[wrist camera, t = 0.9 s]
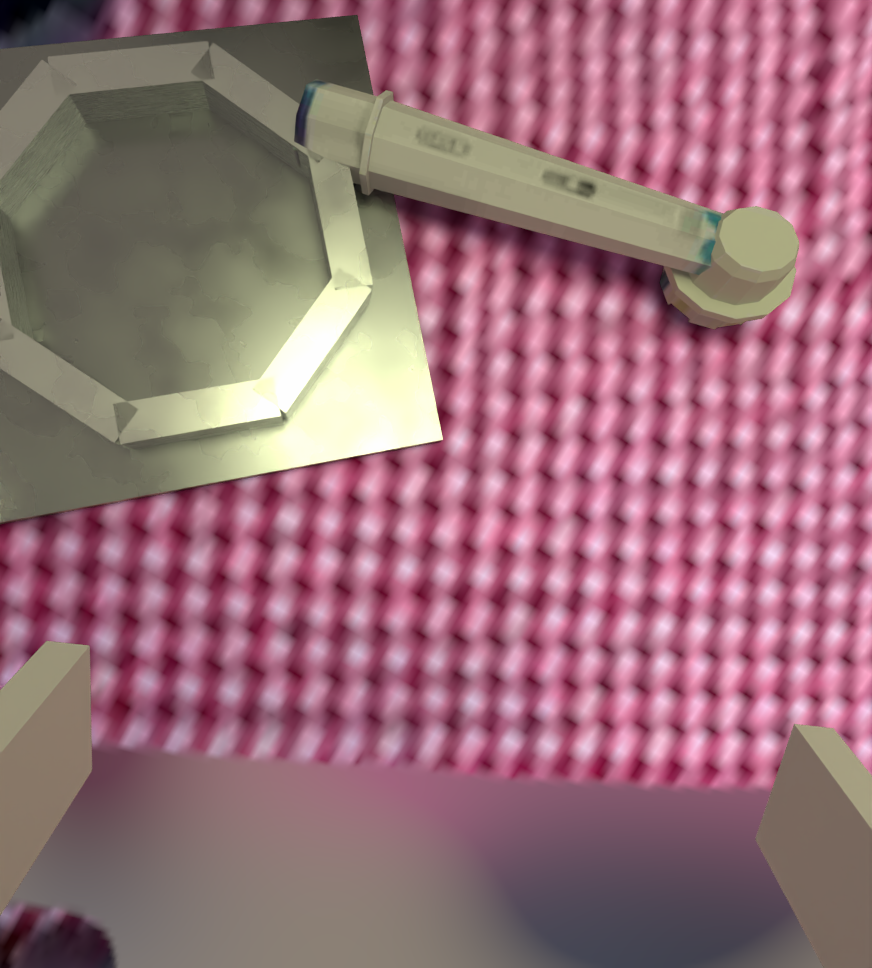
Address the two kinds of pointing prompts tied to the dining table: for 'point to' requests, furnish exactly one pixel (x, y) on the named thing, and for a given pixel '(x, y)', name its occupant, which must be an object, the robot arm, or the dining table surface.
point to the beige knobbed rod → (557, 201)
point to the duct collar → (192, 271)
